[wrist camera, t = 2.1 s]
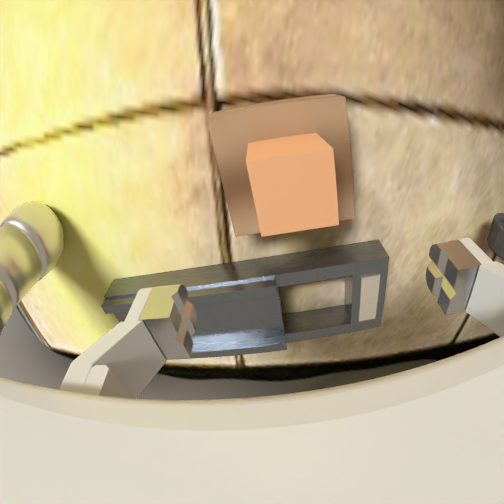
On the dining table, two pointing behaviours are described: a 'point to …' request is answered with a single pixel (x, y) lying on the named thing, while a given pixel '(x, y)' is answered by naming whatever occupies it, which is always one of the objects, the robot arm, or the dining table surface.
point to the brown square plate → (270, 127)
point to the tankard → (497, 235)
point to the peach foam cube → (293, 183)
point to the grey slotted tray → (268, 298)
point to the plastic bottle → (26, 252)
